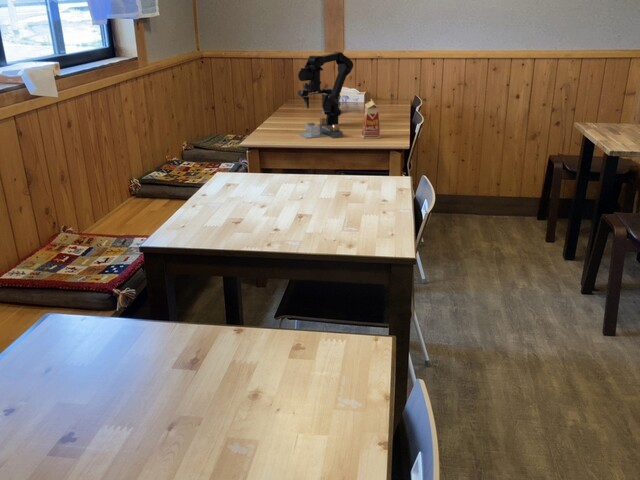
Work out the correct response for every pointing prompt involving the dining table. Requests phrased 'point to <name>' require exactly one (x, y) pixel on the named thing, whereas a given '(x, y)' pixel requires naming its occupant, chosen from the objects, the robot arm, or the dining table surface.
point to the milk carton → (371, 121)
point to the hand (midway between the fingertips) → (315, 107)
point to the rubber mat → (312, 136)
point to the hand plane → (330, 129)
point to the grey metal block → (312, 129)
